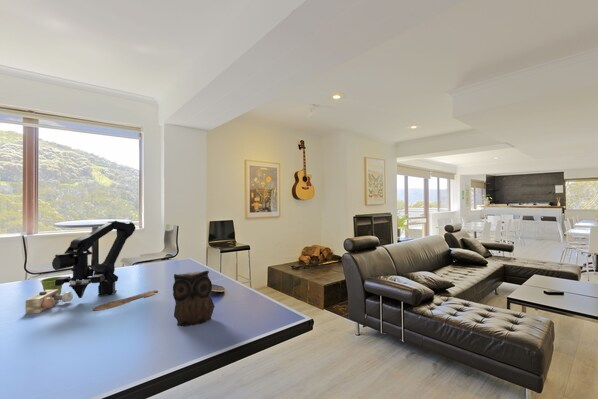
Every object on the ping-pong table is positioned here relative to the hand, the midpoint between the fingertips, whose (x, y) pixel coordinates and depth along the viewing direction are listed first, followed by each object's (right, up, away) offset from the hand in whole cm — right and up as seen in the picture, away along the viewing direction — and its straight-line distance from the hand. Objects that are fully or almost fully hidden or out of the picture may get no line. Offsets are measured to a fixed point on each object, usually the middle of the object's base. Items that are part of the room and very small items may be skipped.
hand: (80, 297), depth 136 cm
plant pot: (-22, -3, +9) cm, 24 cm away
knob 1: (-10, -1, -9) cm, 14 cm away
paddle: (+22, -3, +2) cm, 22 cm away
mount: (-12, -2, -6) cm, 14 cm away
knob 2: (-7, -1, -2) cm, 8 cm away
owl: (+63, -2, -21) cm, 66 cm away
